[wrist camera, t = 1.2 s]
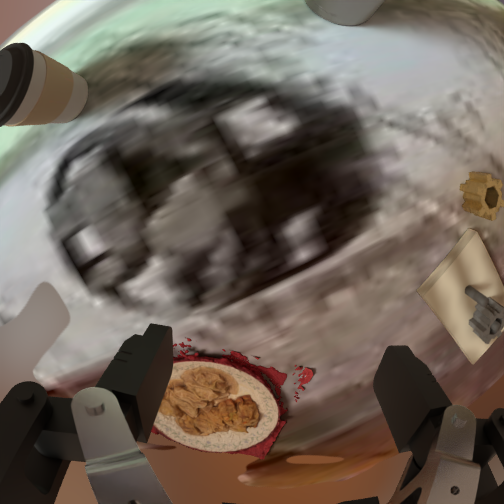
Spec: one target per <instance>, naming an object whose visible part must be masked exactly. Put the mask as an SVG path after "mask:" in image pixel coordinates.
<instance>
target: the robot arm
mask: <svg viewBox="0 0 504 504" xmlns="http://www.w3.org/2000/svg"><path fill="white" fill-rule="evenodd" d="M384 1H385V0H305V2H306V4H307V5H308V6H309V8H310V9H311V10H312V11H313V12H314V13H316V14H317V15H318V16H320V17H322V18H323V19H325V20H328V21H330V22H332V23H336V24H339V25H346V26H350V25H358V24H362V23H364V22H366V21H367V20H368V19H369V18H370V17H371V16H372V15H373V14H374V12H375V11H376V10H377V9H378V8H379V7H380V6H381V5H382V3H383V2H384ZM172 370H173V337H172V328H171V327H169V326H163V325H158V324H152V323H151V324H150V325H149V326H148V328H147V330H146V331H145V333H144V334H143V336H142V335H137V334H135V335H133V336H132V337H130V338H129V339H127V340H126V341H124V343H123V344H122V346H121V347H120V349H119V352H117V353H116V355H115V356H114V360H112V361H111V363H110V364H109V366H108V367H107V369H106V370H105V372H104V373H103V375H102V377H101V378H100V380H99V381H98V383H97V385H96V386H95V387H92V388H87V389H84V390H81V391H80V392H78V393H77V394H76V395H75V396H74V398H59V397H49V396H48V395H47V393H46V390H45V389H44V387H43V386H41V385H40V384H38V383H35V382H31V381H27V382H22V383H19V384H17V385H15V386H14V387H13V388H12V389H11V390H10V391H9V393H8V394H7V395H6V397H5V398H4V399H3V401H2V402H1V403H0V504H54V502H55V500H56V497H57V494H58V492H59V489H60V487H61V484H62V481H63V479H64V476H65V474H66V471H67V469H68V467H69V464H70V462H71V461H81V462H86V464H87V465H85V469H86V473H87V476H88V479H89V482H90V484H91V487H92V490H93V492H94V495H95V497H96V499H97V502H98V504H173V503H172V502H171V500H170V499H169V497H168V495H167V494H166V492H165V490H164V489H163V487H162V485H161V484H160V482H159V480H158V479H157V477H156V475H155V473H154V472H153V470H152V468H151V466H150V464H149V462H148V461H147V459H146V457H145V455H144V454H143V453H141V451H140V450H139V448H138V446H137V444H136V442H137V441H139V442H143V443H147V442H148V439H149V436H150V433H151V430H152V427H153V424H154V422H155V419H156V416H157V413H158V410H159V408H160V405H161V402H162V399H163V397H164V394H165V391H166V389H167V386H168V383H169V380H170V378H171V375H172ZM436 381H437V380H436V379H435V377H434V376H433V375H432V373H431V371H430V370H429V368H428V367H427V365H426V364H424V363H423V362H422V361H421V360H419V359H418V358H417V357H415V355H414V354H413V352H412V351H411V350H410V348H409V347H408V346H406V345H404V346H388V347H387V349H386V351H385V353H384V355H383V358H382V360H381V363H380V365H379V367H378V370H377V372H376V374H375V377H374V382H373V387H374V392H375V394H376V396H377V399H378V401H379V404H380V406H381V408H382V411H383V413H384V416H385V418H386V421H387V423H388V425H389V428H390V430H391V433H392V436H393V438H394V441H395V443H396V446H397V448H398V451H399V453H401V452H406V451H412V453H413V454H412V455H411V457H410V458H409V460H408V462H407V465H406V467H405V470H404V472H403V474H402V477H401V479H400V481H399V483H398V486H397V488H396V490H395V492H394V494H393V496H392V498H391V499H390V500H389V502H388V503H387V504H504V481H503V483H502V484H501V485H499V486H498V485H497V483H496V481H495V478H494V476H493V474H492V471H491V469H490V467H489V465H488V462H489V461H490V460H491V459H492V458H493V457H494V456H495V455H496V454H497V455H498V457H499V459H500V461H501V463H502V465H503V467H504V409H503V408H498V409H496V410H494V411H493V413H492V414H491V416H490V417H489V419H477V418H475V416H474V414H473V413H472V412H471V411H470V410H469V409H467V408H465V407H463V406H460V405H452V403H451V402H450V400H449V399H448V397H447V396H446V394H445V392H444V391H443V389H442V388H441V386H440V385H439V383H438V382H436ZM222 504H234V503H222ZM338 504H379V500H378V497H377V496H376V497H371V498H365V499H359V500H352V501H345V502H341V503H338Z"/></svg>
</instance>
